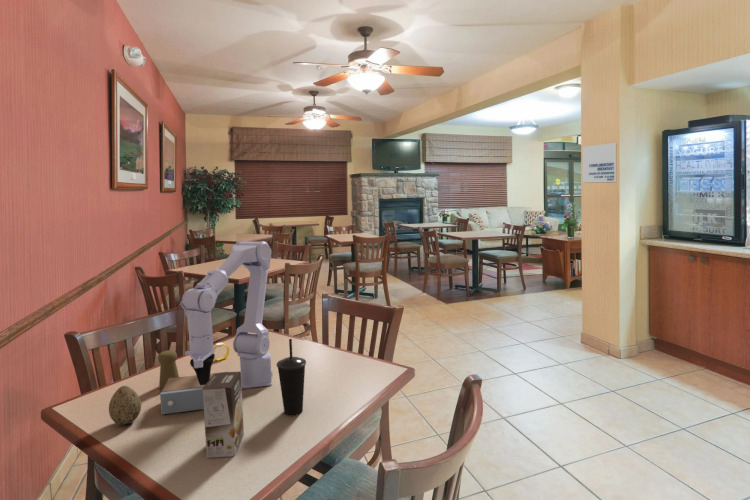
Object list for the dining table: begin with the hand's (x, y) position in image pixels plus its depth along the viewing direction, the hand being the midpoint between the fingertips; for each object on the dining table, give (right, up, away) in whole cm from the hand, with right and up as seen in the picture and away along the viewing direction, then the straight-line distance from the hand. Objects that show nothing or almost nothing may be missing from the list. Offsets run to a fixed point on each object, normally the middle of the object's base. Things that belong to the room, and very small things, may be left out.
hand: (204, 383), depth 112 cm
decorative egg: (-19, -9, -3) cm, 21 cm away
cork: (-18, -7, +19) cm, 27 cm away
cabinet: (-5, -8, +8) cm, 12 cm away
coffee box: (+11, -10, -14) cm, 20 cm away
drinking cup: (+23, -8, +1) cm, 25 cm away
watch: (-10, -4, +40) cm, 42 cm away
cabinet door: (-3, -8, +2) cm, 9 cm away
